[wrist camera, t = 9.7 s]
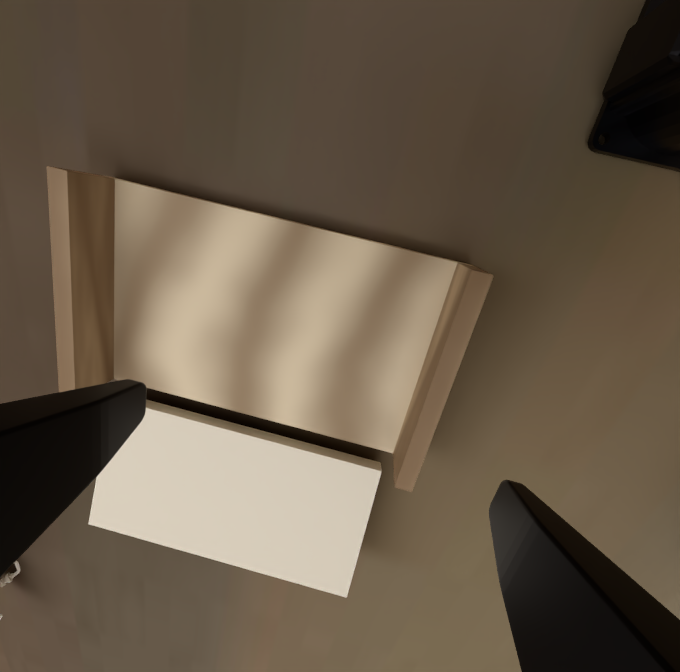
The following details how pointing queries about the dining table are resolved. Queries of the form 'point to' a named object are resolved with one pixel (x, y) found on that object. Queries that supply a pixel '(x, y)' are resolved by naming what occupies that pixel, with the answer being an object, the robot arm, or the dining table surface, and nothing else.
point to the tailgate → (239, 497)
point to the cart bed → (257, 313)
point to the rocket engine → (9, 577)
